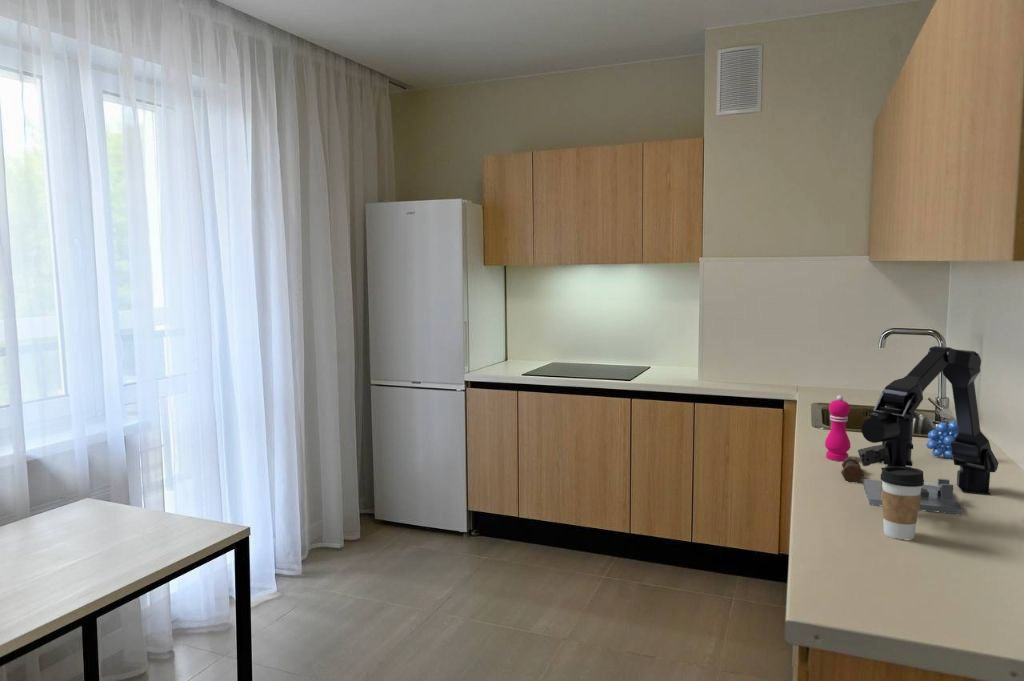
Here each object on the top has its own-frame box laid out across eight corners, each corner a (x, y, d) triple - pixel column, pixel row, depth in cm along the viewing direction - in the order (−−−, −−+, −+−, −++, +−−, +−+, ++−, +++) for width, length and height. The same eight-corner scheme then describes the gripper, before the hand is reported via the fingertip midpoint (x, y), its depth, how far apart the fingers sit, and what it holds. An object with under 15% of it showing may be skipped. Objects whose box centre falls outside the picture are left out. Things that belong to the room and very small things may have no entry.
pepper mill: (824, 460, 215) (827, 396, 213) (823, 454, 222) (826, 392, 220) (850, 462, 213) (853, 398, 211) (848, 456, 219) (852, 394, 217)
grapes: (966, 456, 219) (969, 419, 218) (970, 462, 213) (973, 423, 212) (923, 453, 224) (926, 416, 223) (926, 458, 218) (929, 420, 217)
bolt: (852, 475, 207) (855, 487, 193) (836, 465, 208) (838, 477, 194) (864, 459, 205) (867, 471, 191) (848, 449, 207) (850, 460, 193)
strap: (948, 488, 178) (948, 484, 178) (950, 492, 175) (951, 488, 175) (886, 479, 183) (887, 476, 183) (888, 483, 181) (888, 479, 180)
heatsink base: (946, 492, 184) (948, 474, 184) (962, 515, 168) (963, 494, 167) (862, 484, 192) (863, 466, 191) (869, 504, 175) (870, 485, 174)
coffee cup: (919, 545, 149) (924, 477, 148) (875, 537, 154) (879, 471, 152) (921, 532, 156) (925, 467, 155) (878, 525, 161) (882, 462, 159)
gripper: (857, 426, 179) (854, 485, 181) (864, 443, 162) (861, 508, 164) (907, 430, 175) (903, 490, 177) (919, 448, 158) (915, 514, 159)
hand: (894, 500), depth 169 cm, fingers closed
